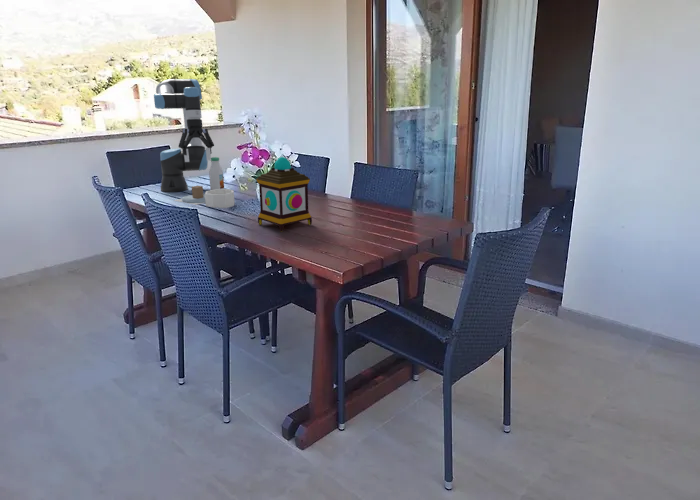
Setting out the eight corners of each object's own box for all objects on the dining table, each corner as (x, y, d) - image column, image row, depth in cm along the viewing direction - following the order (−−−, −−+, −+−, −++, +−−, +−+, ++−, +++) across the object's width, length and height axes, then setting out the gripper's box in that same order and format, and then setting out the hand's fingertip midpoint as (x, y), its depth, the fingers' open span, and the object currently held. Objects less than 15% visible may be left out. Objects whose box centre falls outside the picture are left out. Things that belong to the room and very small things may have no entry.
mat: (173, 201, 267) (173, 200, 267) (200, 195, 282) (200, 194, 282) (196, 205, 258) (196, 204, 258) (222, 199, 272) (222, 198, 272)
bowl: (200, 206, 258) (199, 192, 256) (221, 200, 269) (220, 188, 267) (219, 209, 250) (218, 195, 248) (240, 204, 262) (239, 191, 259)
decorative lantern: (253, 224, 225) (249, 156, 215) (288, 216, 238) (286, 152, 228) (280, 233, 211) (277, 161, 202) (316, 224, 224) (315, 157, 215)
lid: (174, 200, 267) (173, 187, 265) (200, 194, 281) (198, 182, 279) (196, 204, 258) (195, 191, 256) (221, 198, 272) (220, 185, 270)
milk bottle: (216, 194, 284) (213, 159, 278) (207, 192, 289) (204, 157, 282) (227, 192, 290) (224, 157, 284) (218, 190, 294) (215, 156, 288)
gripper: (177, 118, 245) (181, 162, 250) (218, 118, 265) (222, 159, 269) (168, 119, 250) (173, 162, 254) (209, 119, 269) (213, 159, 274)
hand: (198, 161), depth 262 cm, fingers open, 13 cm apart
